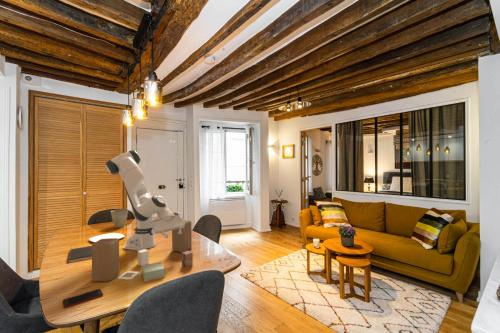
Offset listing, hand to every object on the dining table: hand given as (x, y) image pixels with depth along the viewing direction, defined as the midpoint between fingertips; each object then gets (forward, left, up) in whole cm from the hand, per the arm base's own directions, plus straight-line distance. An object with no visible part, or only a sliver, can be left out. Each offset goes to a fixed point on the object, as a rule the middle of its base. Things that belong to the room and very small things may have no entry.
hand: (173, 235), depth 152 cm
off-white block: (-17, -6, -16) cm, 24 cm away
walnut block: (+11, -6, -16) cm, 20 cm away
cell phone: (-23, -45, -17) cm, 53 cm away
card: (-16, -22, -16) cm, 32 cm away
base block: (-3, -20, -16) cm, 26 cm away
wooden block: (-27, -25, -16) cm, 40 cm away
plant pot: (-88, +73, -16) cm, 116 cm away
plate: (-73, +36, -17) cm, 83 cm away
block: (-3, +20, -16) cm, 26 cm away
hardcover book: (-66, +4, -17) cm, 68 cm away
